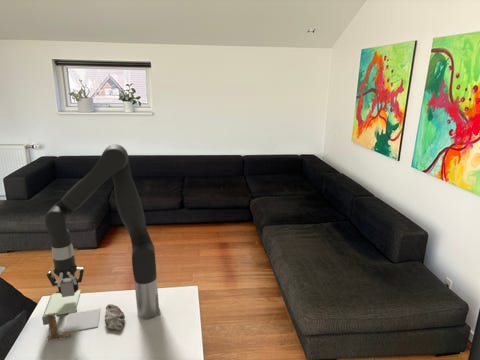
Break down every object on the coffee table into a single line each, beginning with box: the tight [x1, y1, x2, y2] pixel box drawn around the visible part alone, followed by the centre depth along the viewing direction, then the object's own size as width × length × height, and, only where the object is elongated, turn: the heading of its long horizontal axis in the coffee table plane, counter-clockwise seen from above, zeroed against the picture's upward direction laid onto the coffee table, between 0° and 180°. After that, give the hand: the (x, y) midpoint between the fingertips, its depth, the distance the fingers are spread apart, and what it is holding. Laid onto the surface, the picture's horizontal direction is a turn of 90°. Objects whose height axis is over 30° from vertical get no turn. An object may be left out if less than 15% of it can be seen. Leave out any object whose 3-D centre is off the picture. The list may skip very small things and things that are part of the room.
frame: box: [47, 290, 78, 342], centre depth 143 cm, size 8×18×12 cm, turn 16°
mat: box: [62, 308, 101, 334], centre depth 147 cm, size 13×12×1 cm
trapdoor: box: [41, 289, 82, 326], centre depth 142 cm, size 12×14×5 cm
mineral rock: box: [104, 303, 126, 331], centre depth 147 cm, size 15×8×4 cm, turn 16°
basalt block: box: [60, 278, 75, 297], centre depth 141 cm, size 4×4×6 cm
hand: (69, 291), depth 141 cm, fingers closed on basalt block, 4 cm apart
